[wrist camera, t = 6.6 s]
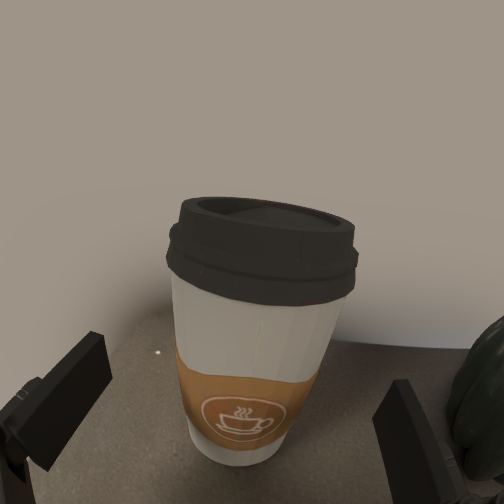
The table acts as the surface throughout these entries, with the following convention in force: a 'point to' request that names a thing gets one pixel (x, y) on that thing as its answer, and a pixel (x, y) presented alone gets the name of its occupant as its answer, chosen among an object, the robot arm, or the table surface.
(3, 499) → the robot arm
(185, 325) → the coffee cup
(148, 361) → the table surface
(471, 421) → the squash
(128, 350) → the table surface
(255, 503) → the table surface
